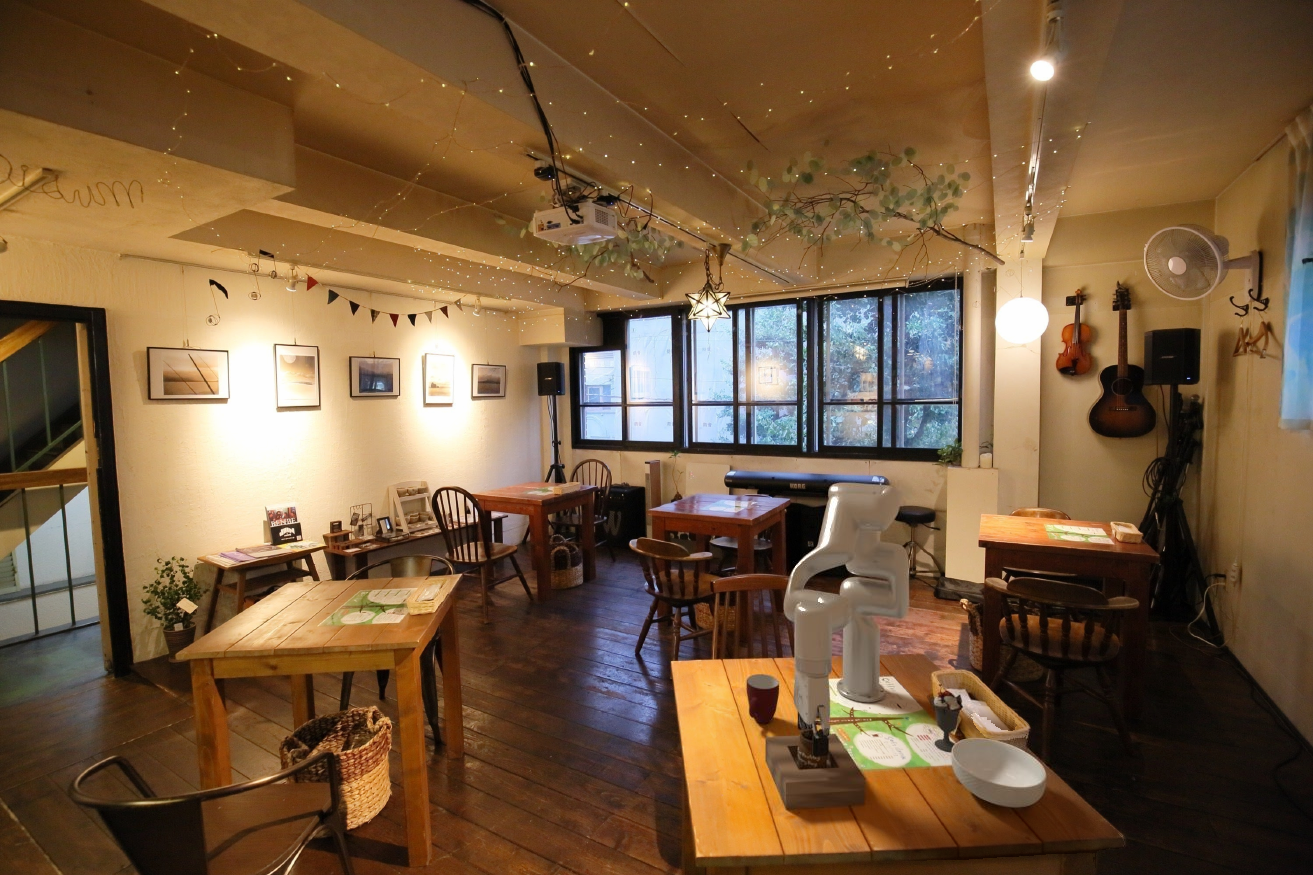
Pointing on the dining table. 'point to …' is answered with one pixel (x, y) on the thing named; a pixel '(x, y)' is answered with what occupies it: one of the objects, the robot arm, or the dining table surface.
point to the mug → (762, 697)
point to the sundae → (946, 716)
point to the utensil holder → (809, 752)
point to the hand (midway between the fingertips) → (812, 741)
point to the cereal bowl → (998, 772)
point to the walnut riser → (814, 775)
